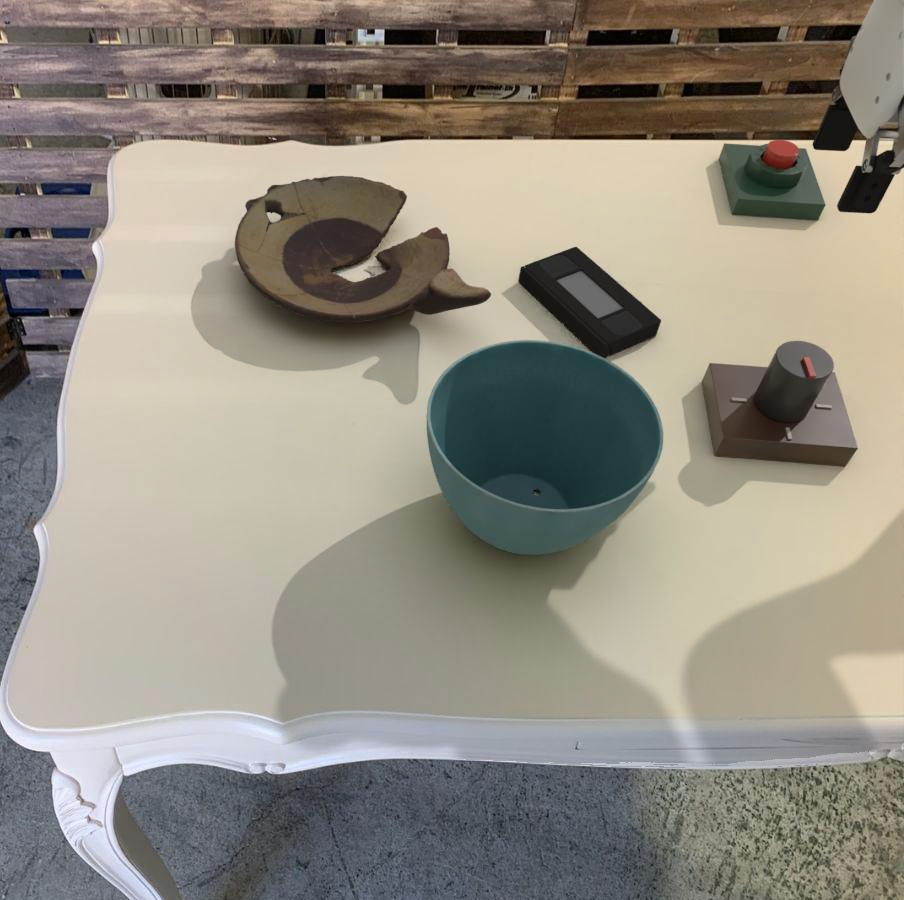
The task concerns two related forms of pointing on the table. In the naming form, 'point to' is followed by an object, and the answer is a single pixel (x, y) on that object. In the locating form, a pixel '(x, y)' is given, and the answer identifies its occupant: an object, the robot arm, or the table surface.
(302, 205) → the broken bowl
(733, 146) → the button box
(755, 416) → the panel
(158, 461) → the table surface
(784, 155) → the button
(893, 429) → the table surface
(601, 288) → the vhs tape
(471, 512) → the plant pot
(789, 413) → the knob
